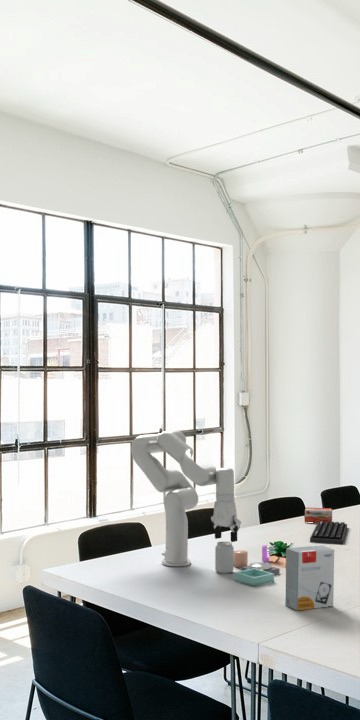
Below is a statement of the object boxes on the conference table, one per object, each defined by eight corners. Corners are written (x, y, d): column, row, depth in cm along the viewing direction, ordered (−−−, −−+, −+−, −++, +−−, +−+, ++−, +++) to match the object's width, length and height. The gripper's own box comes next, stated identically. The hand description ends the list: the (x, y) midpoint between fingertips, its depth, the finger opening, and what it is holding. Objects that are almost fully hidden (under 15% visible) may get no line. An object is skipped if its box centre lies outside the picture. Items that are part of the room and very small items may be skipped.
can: (212, 573, 295) (212, 543, 296) (218, 568, 302) (218, 540, 303) (230, 574, 292) (230, 545, 293) (235, 570, 299) (235, 541, 300)
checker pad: (245, 567, 297) (245, 564, 297) (260, 564, 303) (260, 561, 303) (260, 571, 290) (260, 568, 290) (276, 568, 296) (276, 565, 296)
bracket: (274, 562, 315) (274, 546, 315) (262, 561, 317) (262, 545, 317) (280, 556, 327) (280, 540, 327) (268, 555, 329) (268, 539, 329)
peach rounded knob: (230, 565, 308) (230, 551, 308) (240, 563, 311) (240, 549, 312) (240, 568, 303) (240, 554, 303) (250, 566, 307) (250, 552, 307)
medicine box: (304, 523, 409) (304, 509, 410) (305, 521, 417) (305, 507, 418) (331, 525, 405) (331, 510, 406) (332, 522, 413) (332, 508, 414)
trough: (234, 580, 284) (234, 572, 284) (254, 576, 291) (254, 568, 291) (254, 586, 275) (254, 578, 275) (274, 582, 282) (274, 573, 282)
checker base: (241, 572, 297) (241, 565, 297) (260, 568, 304) (260, 561, 304) (261, 577, 288) (261, 570, 289) (280, 573, 295) (280, 566, 295)
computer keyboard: (317, 527, 401) (317, 520, 401) (347, 528, 396) (347, 521, 397) (310, 543, 357) (310, 535, 358) (342, 545, 353) (342, 537, 353)
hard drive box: (296, 611, 244) (296, 552, 245) (284, 605, 251) (284, 547, 252) (334, 606, 251) (334, 548, 251) (321, 600, 258) (321, 544, 258)
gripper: (204, 497, 303) (205, 538, 302) (232, 500, 289) (233, 544, 288) (218, 495, 308) (218, 535, 307) (246, 499, 294) (247, 541, 293)
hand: (226, 539), depth 297 cm, fingers open, 9 cm apart
